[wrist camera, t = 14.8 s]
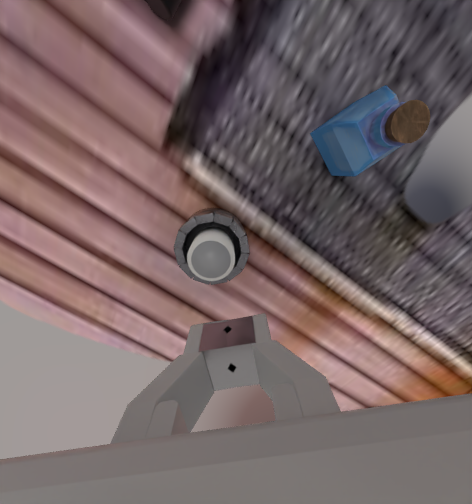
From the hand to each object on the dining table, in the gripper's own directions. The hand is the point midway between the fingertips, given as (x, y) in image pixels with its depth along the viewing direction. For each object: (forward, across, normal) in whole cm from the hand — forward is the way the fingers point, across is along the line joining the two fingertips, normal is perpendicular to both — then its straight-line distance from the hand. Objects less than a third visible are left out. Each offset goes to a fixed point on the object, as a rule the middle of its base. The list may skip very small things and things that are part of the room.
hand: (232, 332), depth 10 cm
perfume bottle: (+26, -16, -7) cm, 31 cm away
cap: (+22, +3, +3) cm, 22 cm away
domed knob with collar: (+25, +3, +3) cm, 25 cm away
